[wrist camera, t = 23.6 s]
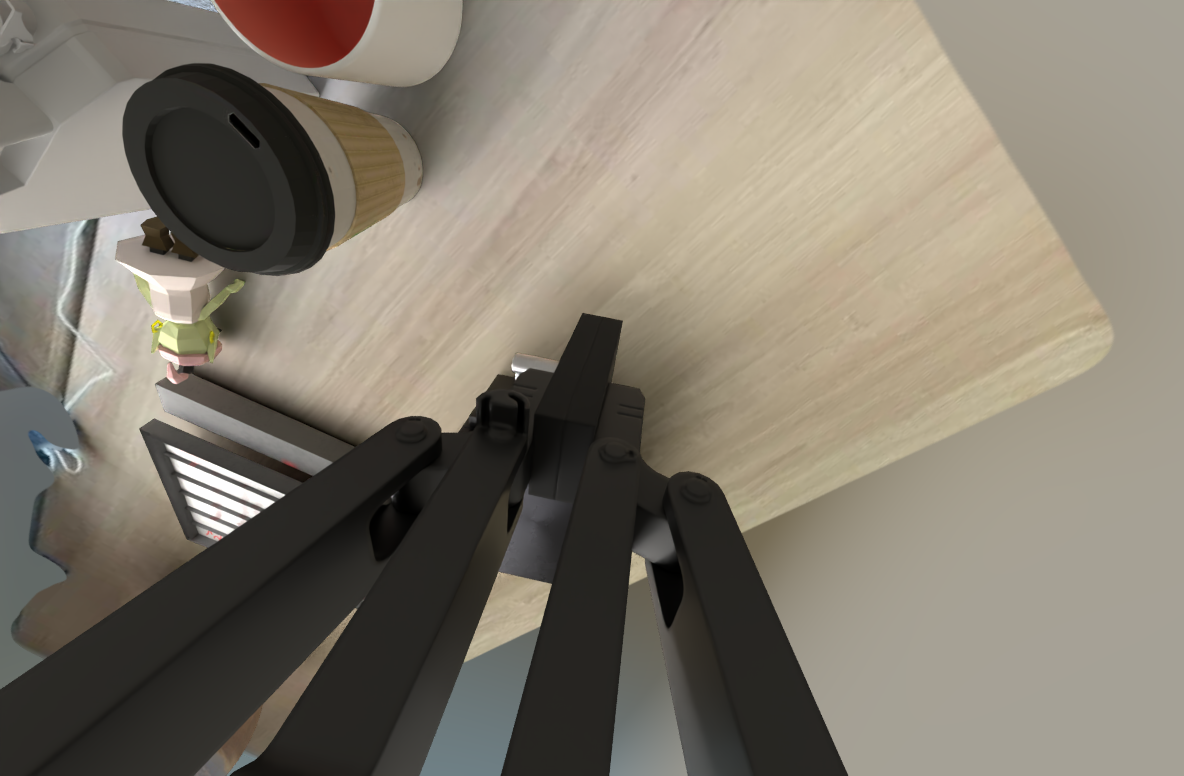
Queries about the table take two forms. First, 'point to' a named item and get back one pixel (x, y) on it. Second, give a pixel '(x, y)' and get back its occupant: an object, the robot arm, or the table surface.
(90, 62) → the jerry can
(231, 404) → the shutter
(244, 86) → the coffee cup
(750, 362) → the table surface
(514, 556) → the cabinet
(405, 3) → the cup
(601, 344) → the robot arm
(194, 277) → the figurine
